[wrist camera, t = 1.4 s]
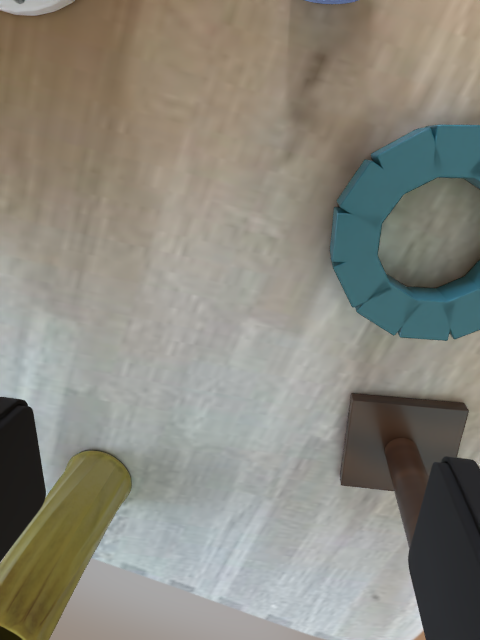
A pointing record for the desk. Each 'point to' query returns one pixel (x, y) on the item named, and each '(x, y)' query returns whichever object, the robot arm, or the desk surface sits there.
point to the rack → (399, 446)
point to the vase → (59, 545)
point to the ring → (365, 229)
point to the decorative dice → (331, 1)
